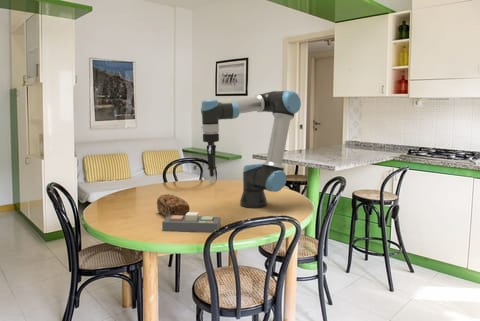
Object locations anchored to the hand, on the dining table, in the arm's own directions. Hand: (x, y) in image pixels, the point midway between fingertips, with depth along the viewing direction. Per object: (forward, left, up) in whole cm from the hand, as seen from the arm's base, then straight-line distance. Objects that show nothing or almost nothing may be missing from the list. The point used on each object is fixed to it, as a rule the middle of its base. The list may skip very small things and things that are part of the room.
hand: (212, 182), depth 192 cm
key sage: (+1, +9, -18) cm, 20 cm away
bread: (+22, -9, -20) cm, 31 cm away
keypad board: (+8, +9, -20) cm, 23 cm away
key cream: (+8, +9, -16) cm, 21 cm away
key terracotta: (+15, +9, -18) cm, 25 cm away
